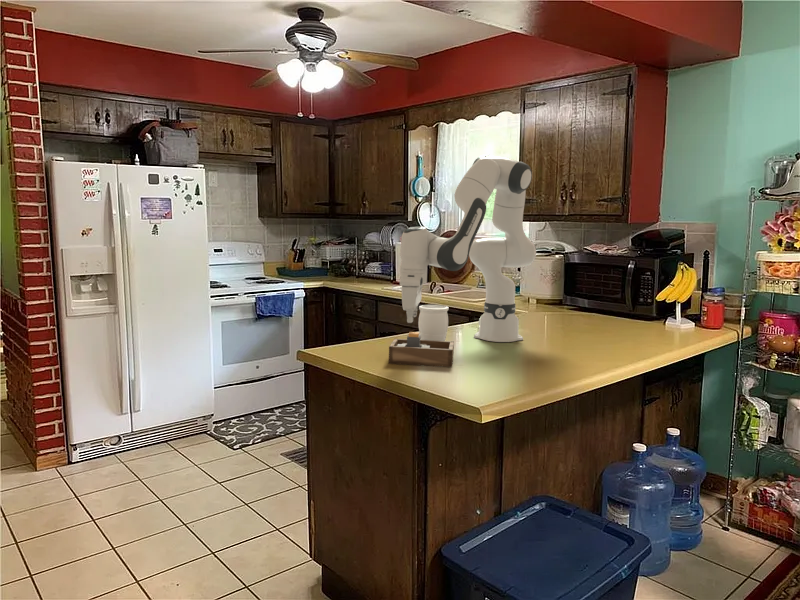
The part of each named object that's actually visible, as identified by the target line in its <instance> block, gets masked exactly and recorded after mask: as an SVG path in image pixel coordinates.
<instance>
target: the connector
mask: <svg viewBox="0 0 800 600" xmlns="http://www.w3.org/2000/svg"><path fill="white" fill-rule="evenodd" d="M406 339H407V347H419V348H420V340H421V335H420V334H419V331H417V332H416V331H409V333H408V335H407V336H406Z"/></svg>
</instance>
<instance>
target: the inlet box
mask: <svg viewBox="0 0 800 600" xmlns="http://www.w3.org/2000/svg"><path fill="white" fill-rule="evenodd" d="M454 351H455V341H447V340H445V341H433V340H420V348H419V347H407V338H394V339H393V341H392V342H391V343H390V345H389V346H388V364H391V365H404V366H405V365H407V366H421V365H424V367H439V366H443V368H452V367H453V363H452V362H454V353H455V352H454Z"/></svg>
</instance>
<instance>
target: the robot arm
mask: <svg viewBox="0 0 800 600" xmlns="http://www.w3.org/2000/svg"><path fill="white" fill-rule="evenodd" d="M532 178H533V171H532V169H531V166H530V165H529V164H527V163H525V162H524V161H518V160H515V159H513V158H508V157H502V156H495V155H490V154H482V155H479V156H478V157H477V158H475V160H474V161H473V164H472V165H471V166H470V168H469V169H468V170H467V171H466V172H465V174H464V175H463V177H462V178H461V179H460V182H459V183H458V185H457V187H456V188H455V191H454V201H455V203H456V205H457V207H458V208H459V209H460V210H461V211H462V212H463V213H464V214H463V218H462V219H461V221H460V224H459V226H458V228H457V230H456V232H455V234H454V235H453V236H450V237H441V236H438V235H436V234H435V233H432V232H431V231H429V230H428V229H427V227H425V226H421V225H419V226H410V227H407V228H405V229H404V230H403V232H402V234H401V238H400V247H399V249H400V253H399V254H400V261H401V262H400V265H399V286H401V304H402V309H403V311H406V322H407V324H412V323H413V322H414V318H416V317H418V316H417V315H418V309H419V304H420V302H421V301H422V295H423V293H422V292H423V291H422V290H423V287H424V285H426V284H427V283H428V266H430V267H431V266H432V267H435V268H440V269H441V268H442V269H444V270H447V271H451V272H457V271H459V270H461V269H462V268H464V266H465V265H466V263H467V262H468V259H469V260H470V261H471V263H472V264H473V265H474V266H476V267H477V268H478V270H479V271H480V272H481V274H482V275H483V279H484V281H485V301H484V303H483V304H484V305H483V311H484V313H483V314H481V316H480V318H479V319H478V331H477V332H475V334H473V338H475V339H481V340H484V341H489V342H496V343H510V342H512V343H513V342H516V341H517V342H518V341H523V340H524V337H523V336H522V335H521V334H519V329H520V328H519V325H520V323H519V322H520V320H519V318H518V316H517V315H516V309H517V307H516V303H515V297H516V284H515V282H514V280H513V279H511V278H510V277H508V276H507V275H504V274H503V272H502V268H522V267H526V266H527V267H528V266H531V265H532V264H533V263H534V261H535V260H536V255H537V249H536V246H535V244H534V243H533V241H532V240H531V239H529V238H528V236H527V235H526V233H525V231H524V223H523V220H524V209H525V204H526V193H527V191H526V190H527V189H528V188H529V187H530V185H531V183H532V180H533V179H532ZM495 190H496V191H495ZM494 191H495V197H494V201H493V202H494V203H493V210H492V218H491V222H492V224H493V226H494V227H495V228H496V229H498V230H500V231H501V232H503V233H504V237H503V238H502V237H500V238H499V237H494V238H493V237H484V238H479V239H476V236H477V234H478V232H479V230H480V228H481V225H482V223H483V221H484V219H485V216H486V213H487V202H488V201H489V199H490V197H491V196H492V194H493V192H494Z"/></svg>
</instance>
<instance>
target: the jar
mask: <svg viewBox="0 0 800 600" xmlns="http://www.w3.org/2000/svg"><path fill="white" fill-rule="evenodd" d="M418 309H419V315H418V322H417V323H418V332H419V335H421V340H433V341H446V339H447V333H448V331H449V329H448V328H449V315H448V311H449V306H447V305H441V304H422V305H418Z"/></svg>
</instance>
